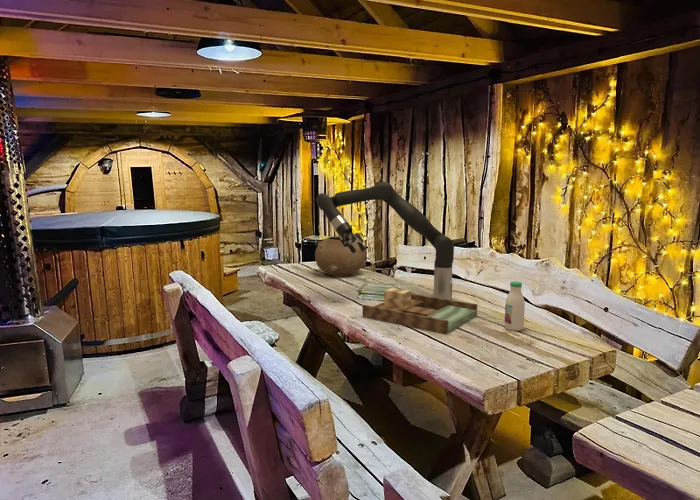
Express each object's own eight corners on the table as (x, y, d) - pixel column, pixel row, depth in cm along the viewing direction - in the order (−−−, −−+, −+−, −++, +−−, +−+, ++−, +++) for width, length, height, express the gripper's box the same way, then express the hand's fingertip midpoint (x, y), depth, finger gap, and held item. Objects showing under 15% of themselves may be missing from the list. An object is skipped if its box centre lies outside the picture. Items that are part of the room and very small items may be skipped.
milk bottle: (523, 326, 203) (525, 281, 200) (523, 332, 195) (526, 284, 192) (504, 324, 205) (506, 279, 202) (504, 330, 198) (506, 283, 195)
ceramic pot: (308, 272, 323) (307, 236, 319) (352, 268, 337) (352, 233, 333) (326, 281, 293) (326, 241, 289) (374, 276, 307) (374, 238, 303)
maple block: (384, 305, 226) (384, 290, 225) (391, 302, 231) (391, 287, 230) (404, 309, 219) (404, 293, 218) (411, 306, 224) (411, 290, 223)
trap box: (362, 316, 218) (362, 305, 217) (398, 302, 244) (398, 291, 243) (446, 334, 193) (447, 321, 192) (476, 315, 219) (477, 304, 218)
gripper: (337, 222, 231) (356, 248, 226) (354, 220, 243) (372, 245, 238) (328, 232, 235) (346, 257, 230) (345, 230, 246) (363, 254, 242)
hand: (359, 251), depth 234 cm, fingers open, 8 cm apart
